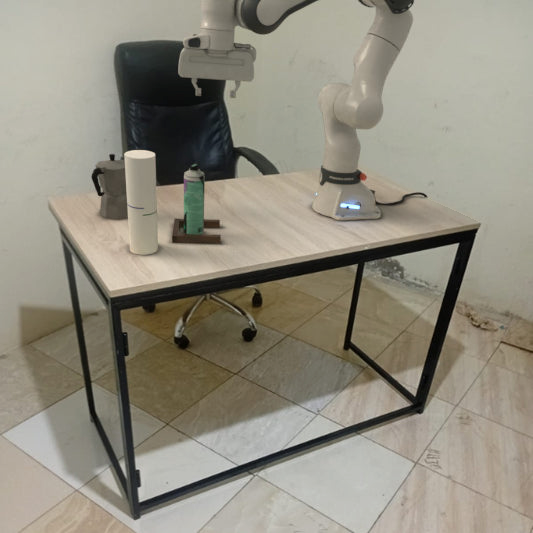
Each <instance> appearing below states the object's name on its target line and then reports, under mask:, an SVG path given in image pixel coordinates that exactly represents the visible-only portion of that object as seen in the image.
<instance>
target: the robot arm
mask: <svg viewBox="0 0 533 533" xmlns="http://www.w3.org/2000/svg"><path fill="white" fill-rule="evenodd" d="M319 1H320V0H200V12H201V23H200V32H199V33H193V34H192V35H188V36H186V37H184V38H183V40H182V44H183V46H184V47H183V48H182V49H181V51H180V53H179V59H178V70H177V73H178V75H179V76H180V77H181V78H190V79H191V84H192V86H193V88H194V89H195V96H196V97H201V96H202V88H201V87H198V85H197V83H198V79H202V80H203V79H204V80H205V79H206V80H217V81H218V80H219V81H234V84H235V87H234V88H233V89H231V90H230V92H229V93H230V95H229V98H230V99H236V97H237V92H238V90H239V89H240V87H241V82H249V83H250V82H252V81H253V80H254V79H255V66H254V62H255V61H256V59H257V49H256V48H255V47H254V46H252V44H250V43H241V42H235V34H236V33H235V31H236V27H239V28H242V29H245V30H247V31H250V32H252V33H254V34H257V35H262V36H263V35H269V34H271V33H273V32H275V31H276V30H277V29H278V28H279V27H281V25H282V24H283V22H284V21H285V20H286V19H287V18H288V17H289V16H291V15H293V14H294V13H296V12H298V11H300V10H302V9H305V8H306V7H308V6H310V5H312V4H314V3H316V2H319ZM357 1H358V2H359V3H360V5H362V6H364V7H366V8H375V13H374V14H375V15H374V19H373V22H372V24H371V26H370V27H369V29H368V30H367V32H366V34H365V36H364V38H363V40H362V42H361V44H360V46H359V47H358V49H357V51H356V53H355V55H354V57H353V60H352V63H353V67H354V68H353V69H354V70H353V76H352V80H351V83H350V84H348V83H344V82H331V83H328V84H326V85H325V86H323V88H321V90H320V92H319V94H318V98H317V105H318V108H319V110H320V112H321V115H322V121H323V129H324V149H323V158H322V165H321V166H320V170H319V175H318V183H319V185H318V189H317V192H316V193H315V198H314V200H313V203H312V205H311V209H312V210H313V211H314V212H316V213H318V214H320V215H322V216H325V217H329V218H332V219H334V220H336V221H358V220H376V219H380V218H381V215H382V212H381V210H380V208H379V207H378V205H379V206H395V205H398V204H401V203H403V202H404V201H405V200H406V198H407V197H412V196H423V197H424V198H426V199H428V198H429V197H428V195H427V194H426V193H424V192H417V191H416V192H411V193H407V194H404V195H402V197H401V199H400V200H397V201H392V202H388V203H382V202H379V201H377V199H376V195H375V194H376V190H373V189H370V188H369V187H368V186H367V185H366V184H365V183H363V181H366V180H367V179H368V176H367V174H365V173H364V172H362V171H361V170H360V169H358V167H359V161H360V154H361V149H362V148H361V141H360V140H359V137H358V134H357V130H371V129H373V128H375V127H376V126H378V124H379V123H380V122H381V120H382V118H383V115H384V104H383V99H382V98H383V97H382V96H383V90H384V87H385V83H386V80H387V78H388V75H389V73H390V72H391V70H392V68H393V67H394V64H395V62H396V60H397V58H398V56H399V54H400V53H401V51H402V49H403V47H404V45H405V43H406V42H407V39H408V37H409V34H410V32H411V28H412V26H413V22H414V16H413V13H412V12H411V7H413V5H414V3H415V0H357Z"/></svg>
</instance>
